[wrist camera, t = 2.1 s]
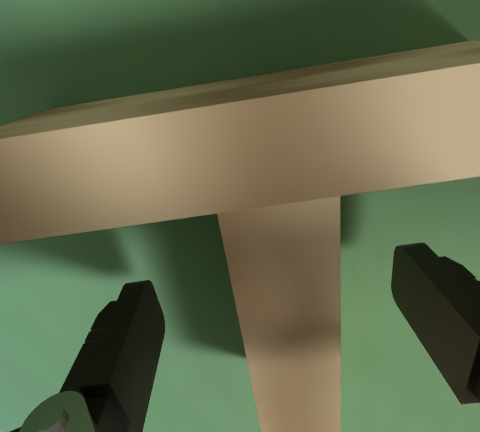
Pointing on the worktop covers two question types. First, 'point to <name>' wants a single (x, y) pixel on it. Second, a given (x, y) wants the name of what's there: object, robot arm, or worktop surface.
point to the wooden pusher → (256, 188)
